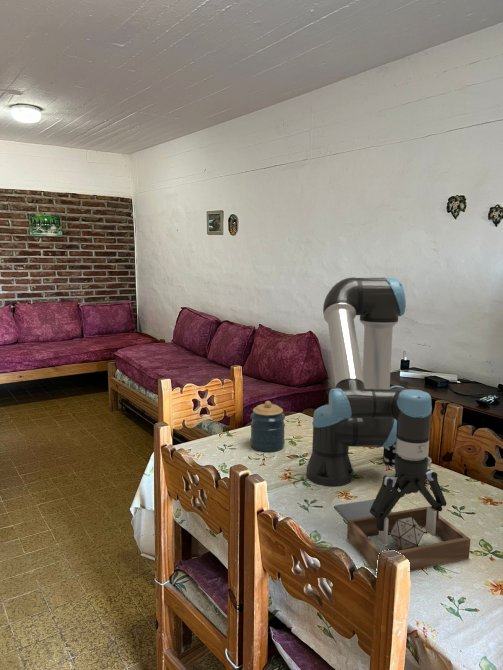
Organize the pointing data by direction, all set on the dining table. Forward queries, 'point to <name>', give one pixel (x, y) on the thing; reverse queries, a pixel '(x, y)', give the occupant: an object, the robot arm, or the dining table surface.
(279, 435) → the canister
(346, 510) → the pad
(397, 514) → the rectangular frame
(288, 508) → the dining table surface
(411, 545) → the game die
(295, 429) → the dining table surface
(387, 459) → the white-spotted black cylinder
